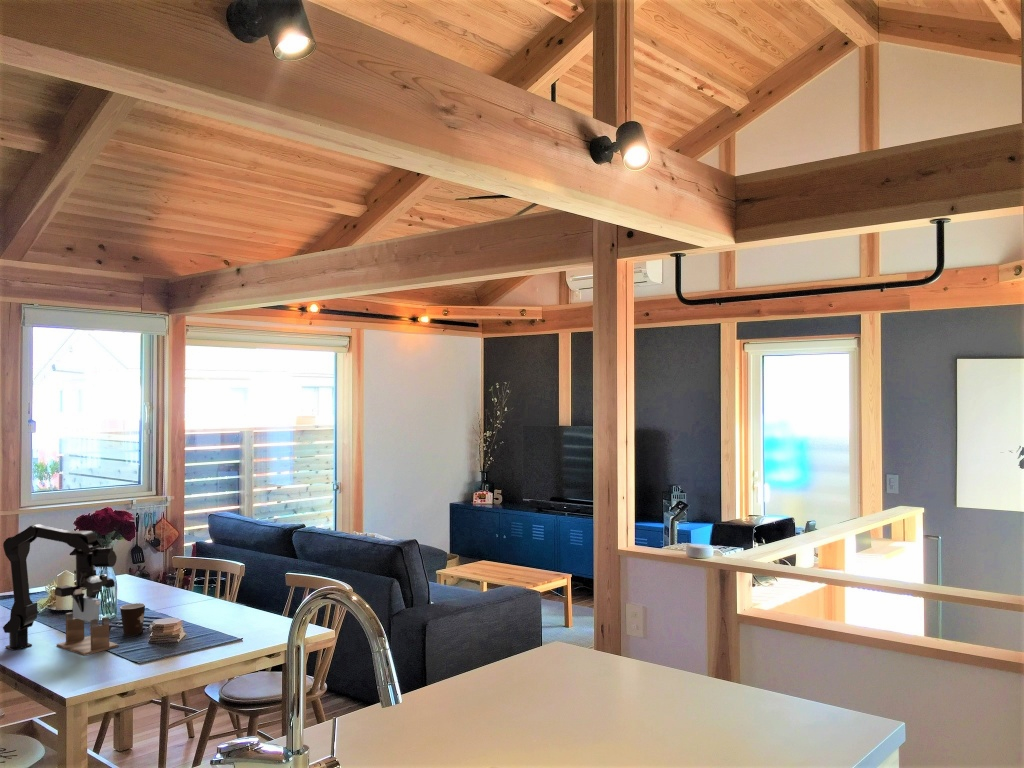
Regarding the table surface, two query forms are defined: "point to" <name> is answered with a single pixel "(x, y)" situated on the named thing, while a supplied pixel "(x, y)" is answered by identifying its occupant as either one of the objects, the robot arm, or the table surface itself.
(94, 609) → the door
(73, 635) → the hinge frame
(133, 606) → the coffee mug
